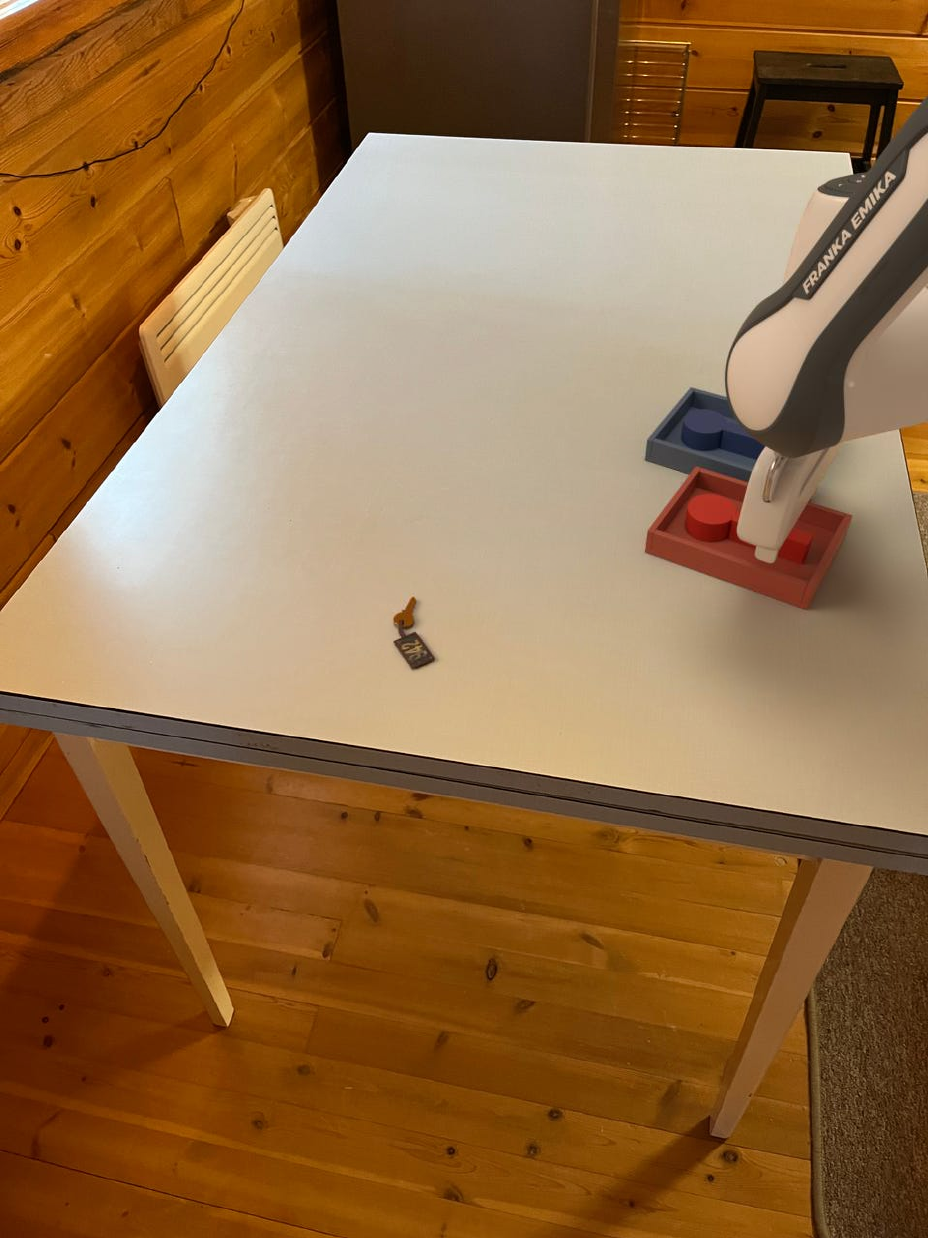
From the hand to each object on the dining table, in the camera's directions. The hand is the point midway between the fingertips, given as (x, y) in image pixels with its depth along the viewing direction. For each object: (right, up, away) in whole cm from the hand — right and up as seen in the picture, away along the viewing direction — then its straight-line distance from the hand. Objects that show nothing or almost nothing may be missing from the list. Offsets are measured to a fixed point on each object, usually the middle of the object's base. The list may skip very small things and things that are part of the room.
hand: (785, 525), depth 82 cm
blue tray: (-1, +9, +14) cm, 16 cm away
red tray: (-2, -1, +4) cm, 5 cm away
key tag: (-33, -10, -3) cm, 34 cm away
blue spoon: (0, +9, +13) cm, 16 cm away
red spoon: (-2, -1, +3) cm, 4 cm away
